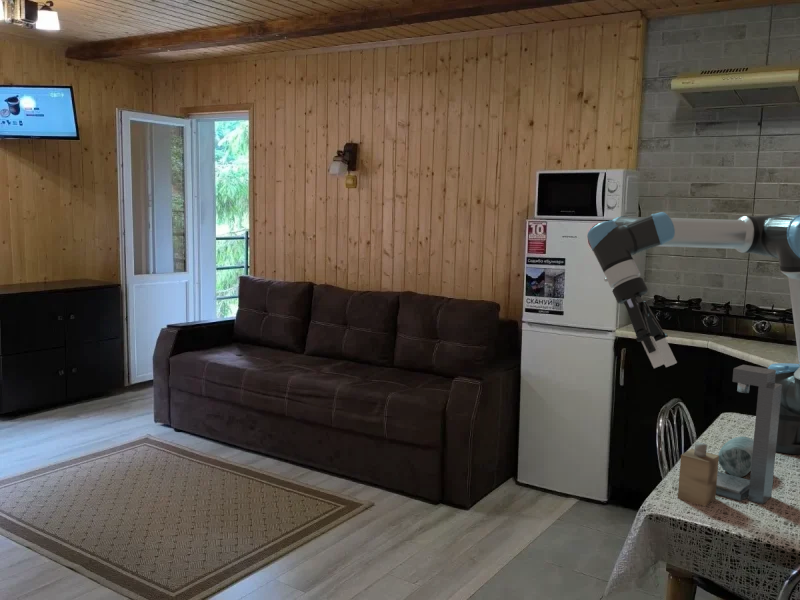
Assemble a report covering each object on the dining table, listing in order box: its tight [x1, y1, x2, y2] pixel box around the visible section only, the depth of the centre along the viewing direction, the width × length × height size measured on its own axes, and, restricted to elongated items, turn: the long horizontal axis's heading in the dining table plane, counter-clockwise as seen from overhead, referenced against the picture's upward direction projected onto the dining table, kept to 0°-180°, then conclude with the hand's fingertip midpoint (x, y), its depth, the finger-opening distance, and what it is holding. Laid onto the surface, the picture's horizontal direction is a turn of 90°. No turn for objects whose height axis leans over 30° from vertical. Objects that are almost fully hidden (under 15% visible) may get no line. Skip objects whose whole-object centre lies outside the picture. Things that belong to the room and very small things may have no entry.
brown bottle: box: [677, 442, 719, 507], centre depth 157 cm, size 6×6×12 cm
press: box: [716, 364, 782, 505], centre depth 161 cm, size 10×14×29 cm
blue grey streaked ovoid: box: [717, 436, 754, 478], centre depth 175 cm, size 14×10×10 cm
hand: (666, 365), depth 163 cm, fingers open, 13 cm apart
